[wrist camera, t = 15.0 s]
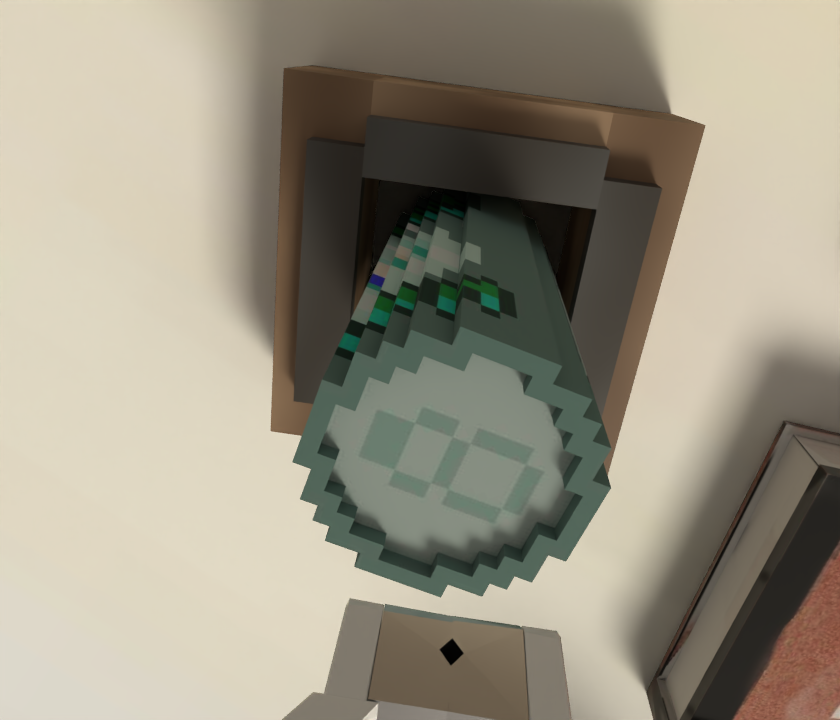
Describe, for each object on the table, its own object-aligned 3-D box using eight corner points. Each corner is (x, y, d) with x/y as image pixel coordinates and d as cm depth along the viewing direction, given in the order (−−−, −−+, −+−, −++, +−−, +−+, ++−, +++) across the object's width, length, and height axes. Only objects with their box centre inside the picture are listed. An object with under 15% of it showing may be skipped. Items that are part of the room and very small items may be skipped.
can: (420, 161, 26) (355, 285, 12) (568, 221, 27) (661, 404, 13) (367, 302, 29) (265, 535, 15) (504, 355, 29) (525, 627, 15)
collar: (295, 385, 30) (264, 441, 26) (312, 65, 25) (277, 69, 21) (590, 428, 30) (609, 492, 26) (672, 113, 25) (713, 128, 20)
